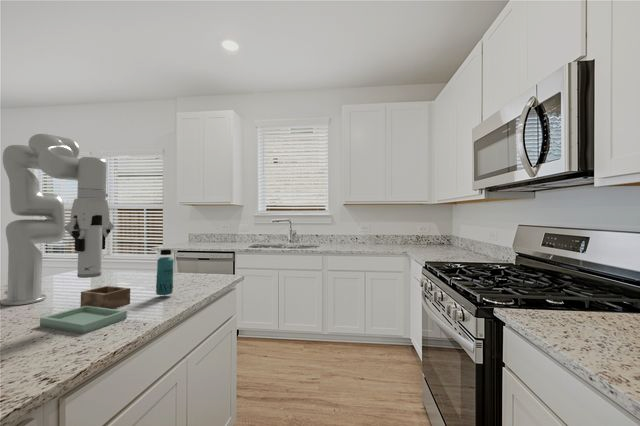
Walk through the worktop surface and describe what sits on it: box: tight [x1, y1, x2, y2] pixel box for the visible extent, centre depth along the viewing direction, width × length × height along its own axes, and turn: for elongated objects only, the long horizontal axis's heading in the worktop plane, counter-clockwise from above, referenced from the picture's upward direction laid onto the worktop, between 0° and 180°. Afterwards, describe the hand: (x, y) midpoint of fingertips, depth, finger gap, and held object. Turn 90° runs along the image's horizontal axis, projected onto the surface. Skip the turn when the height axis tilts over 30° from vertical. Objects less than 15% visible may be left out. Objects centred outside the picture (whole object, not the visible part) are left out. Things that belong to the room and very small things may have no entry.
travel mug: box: [77, 215, 103, 279], centre depth 101 cm, size 6×7×20 cm
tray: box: [39, 305, 128, 335], centre depth 98 cm, size 18×14×2 cm
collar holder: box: [80, 285, 131, 309], centre depth 115 cm, size 11×10×6 cm
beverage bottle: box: [155, 248, 175, 296], centre depth 130 cm, size 6×7×20 cm
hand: (90, 249), depth 100 cm, fingers closed on travel mug, 6 cm apart
